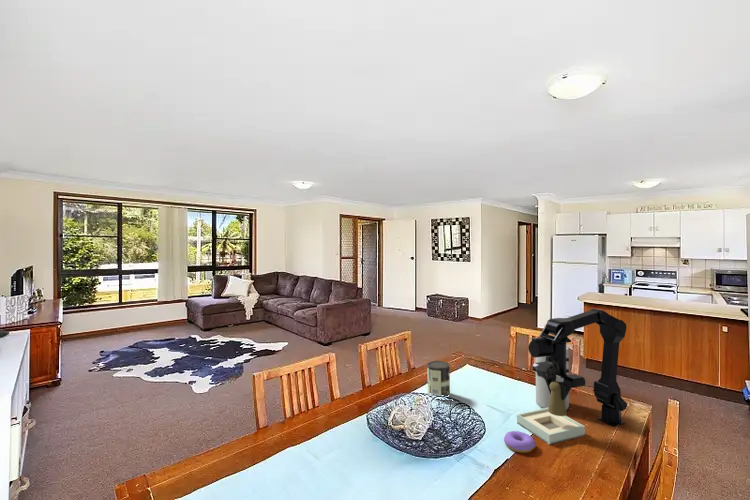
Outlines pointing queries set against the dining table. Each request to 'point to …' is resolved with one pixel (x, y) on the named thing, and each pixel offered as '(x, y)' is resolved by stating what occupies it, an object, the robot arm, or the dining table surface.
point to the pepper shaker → (556, 400)
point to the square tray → (550, 426)
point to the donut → (519, 441)
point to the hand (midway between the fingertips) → (557, 397)
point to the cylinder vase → (542, 387)
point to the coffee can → (438, 378)
